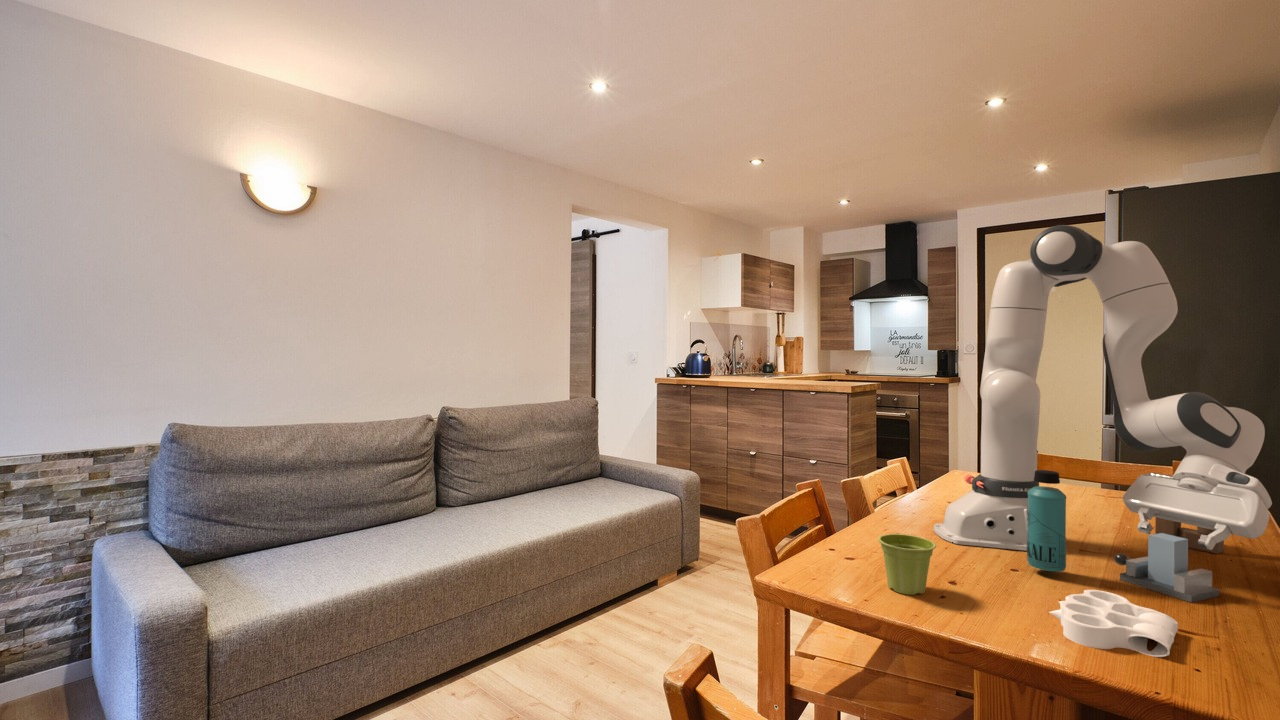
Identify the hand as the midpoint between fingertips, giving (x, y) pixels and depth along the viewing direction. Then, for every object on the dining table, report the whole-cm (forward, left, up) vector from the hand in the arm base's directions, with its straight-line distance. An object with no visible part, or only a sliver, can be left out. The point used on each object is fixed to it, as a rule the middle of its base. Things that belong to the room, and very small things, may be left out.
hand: (1172, 538), depth 108 cm
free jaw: (-4, +4, -7) cm, 9 cm away
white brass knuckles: (-22, -21, -9) cm, 32 cm away
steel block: (-1, -1, -8) cm, 8 cm away
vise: (-1, -1, -9) cm, 9 cm away
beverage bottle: (-19, +3, -9) cm, 22 cm away
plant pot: (-48, -9, -9) cm, 50 cm away
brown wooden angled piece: (+21, +26, -9) cm, 35 cm away
